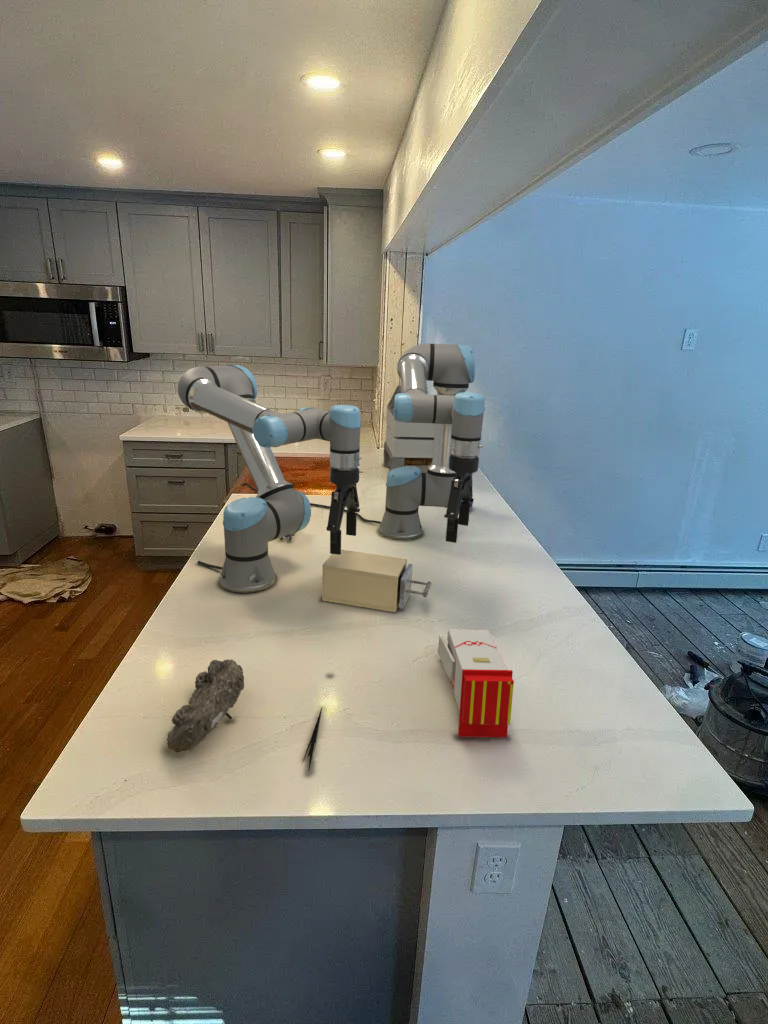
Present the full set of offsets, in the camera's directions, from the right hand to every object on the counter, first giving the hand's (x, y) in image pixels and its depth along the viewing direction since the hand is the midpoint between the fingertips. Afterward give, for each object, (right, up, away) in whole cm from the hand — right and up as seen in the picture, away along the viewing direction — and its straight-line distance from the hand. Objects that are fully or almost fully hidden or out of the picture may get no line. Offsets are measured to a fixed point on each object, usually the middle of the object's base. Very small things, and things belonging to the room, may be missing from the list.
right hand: (457, 533), depth 151 cm
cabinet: (-25, -18, +4) cm, 31 cm away
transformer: (-2, +24, +124) cm, 126 cm away
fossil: (-52, -33, -43) cm, 76 cm away
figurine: (+12, +7, +76) cm, 77 cm away
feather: (-32, -34, -42) cm, 63 cm away
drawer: (-20, -17, +3) cm, 26 cm away
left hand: (-30, -3, +1) cm, 30 cm away
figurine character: (-52, -2, +43) cm, 68 cm away
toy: (-2, -32, -32) cm, 46 cm away
